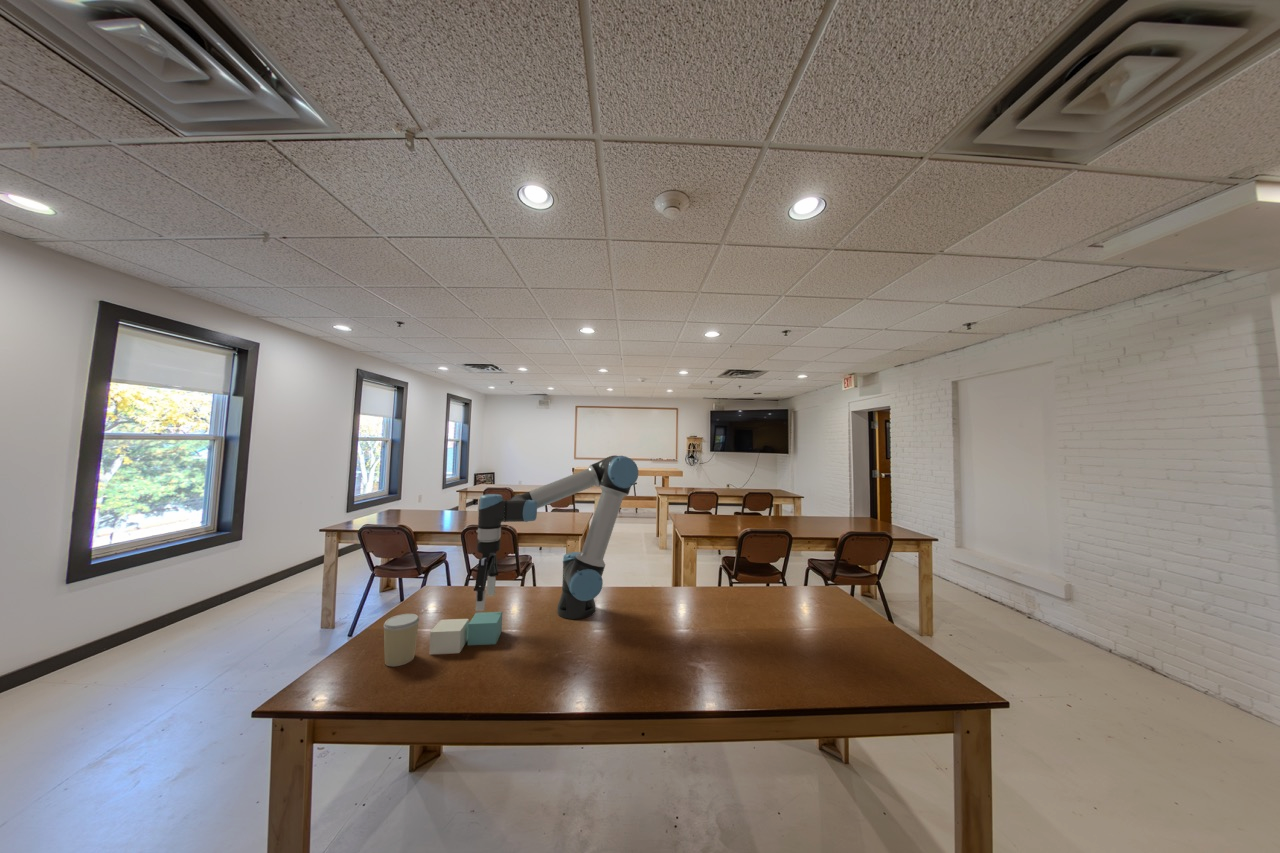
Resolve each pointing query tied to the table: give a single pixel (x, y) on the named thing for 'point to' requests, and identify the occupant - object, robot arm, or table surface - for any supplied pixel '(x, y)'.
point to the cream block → (449, 636)
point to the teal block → (485, 628)
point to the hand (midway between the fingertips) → (485, 602)
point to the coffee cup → (400, 639)
